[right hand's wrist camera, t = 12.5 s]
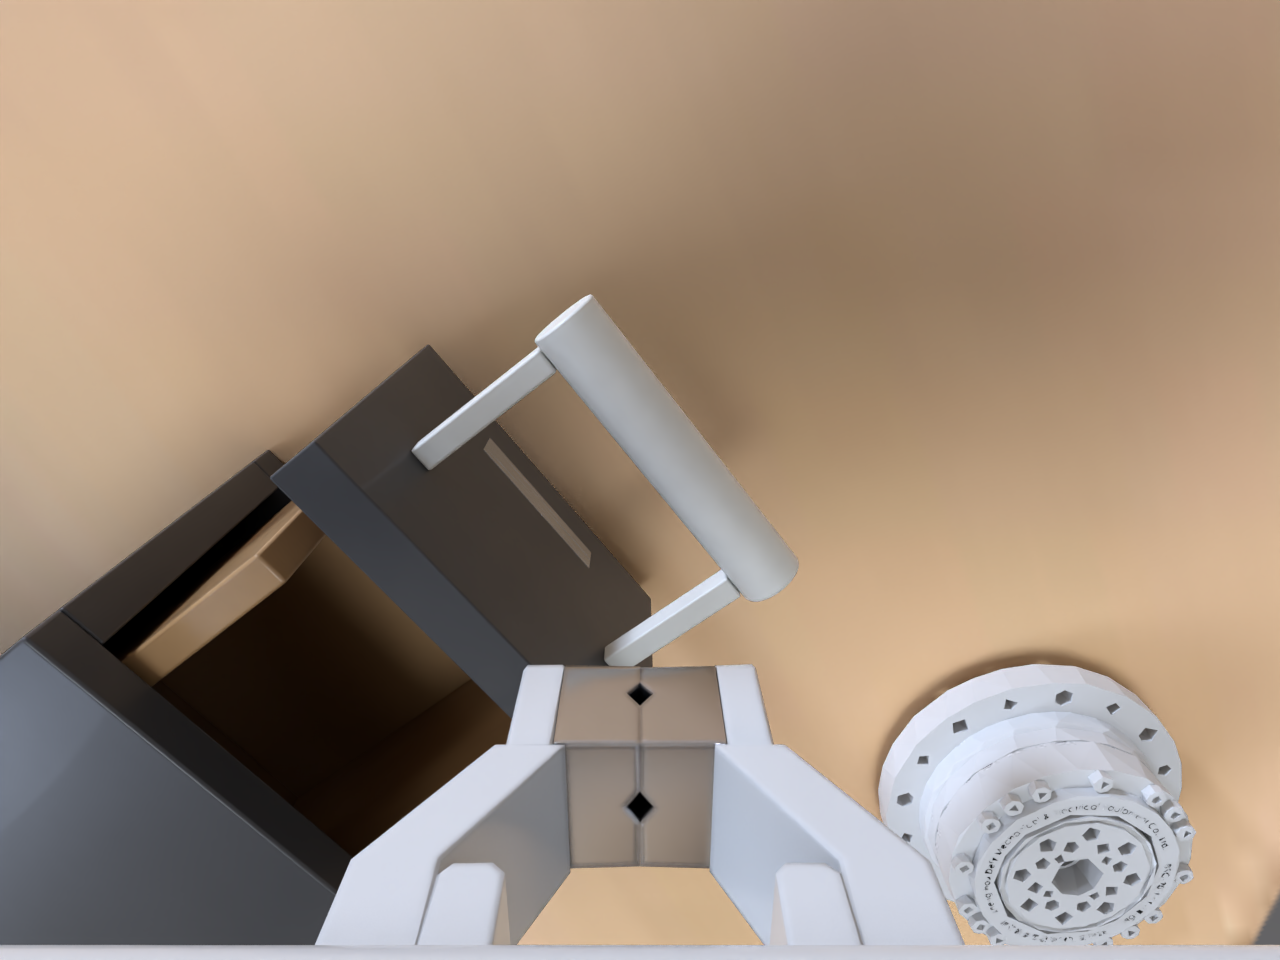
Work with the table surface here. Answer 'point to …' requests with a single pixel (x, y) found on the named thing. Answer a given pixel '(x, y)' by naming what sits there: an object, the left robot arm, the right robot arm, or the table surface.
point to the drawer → (437, 582)
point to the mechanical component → (1042, 805)
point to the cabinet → (145, 775)
